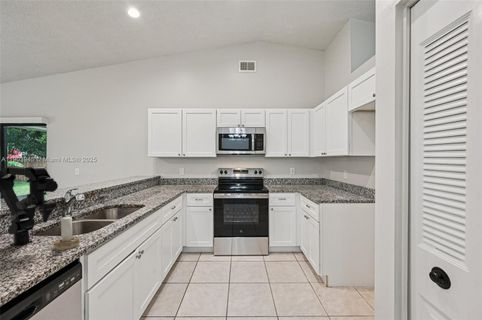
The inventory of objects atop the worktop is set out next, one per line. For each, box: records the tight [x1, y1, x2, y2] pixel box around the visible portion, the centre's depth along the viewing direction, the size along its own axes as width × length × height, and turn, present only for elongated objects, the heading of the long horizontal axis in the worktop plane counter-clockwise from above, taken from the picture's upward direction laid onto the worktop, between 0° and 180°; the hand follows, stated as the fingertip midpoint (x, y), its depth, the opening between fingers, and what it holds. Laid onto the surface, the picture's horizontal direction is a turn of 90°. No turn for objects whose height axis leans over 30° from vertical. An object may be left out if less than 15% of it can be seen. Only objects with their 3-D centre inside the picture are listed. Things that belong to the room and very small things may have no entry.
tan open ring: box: [53, 235, 80, 251], centre depth 124 cm, size 10×10×3 cm
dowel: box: [60, 216, 73, 242], centre depth 123 cm, size 4×4×14 cm
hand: (38, 221), depth 124 cm, fingers open, 9 cm apart
